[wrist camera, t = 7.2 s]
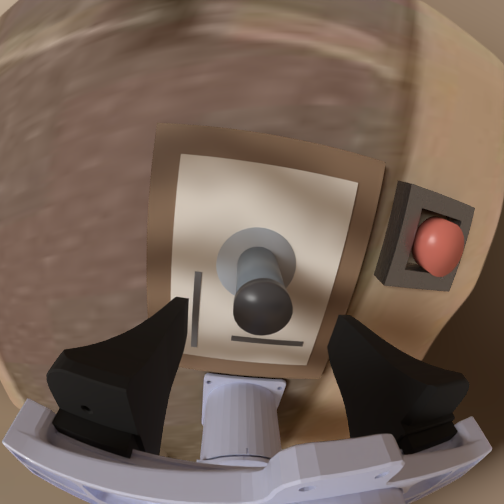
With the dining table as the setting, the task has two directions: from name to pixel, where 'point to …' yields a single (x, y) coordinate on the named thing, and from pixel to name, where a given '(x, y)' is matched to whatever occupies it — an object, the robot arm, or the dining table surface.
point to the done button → (438, 246)
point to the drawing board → (256, 240)
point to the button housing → (403, 233)
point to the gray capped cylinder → (260, 294)
